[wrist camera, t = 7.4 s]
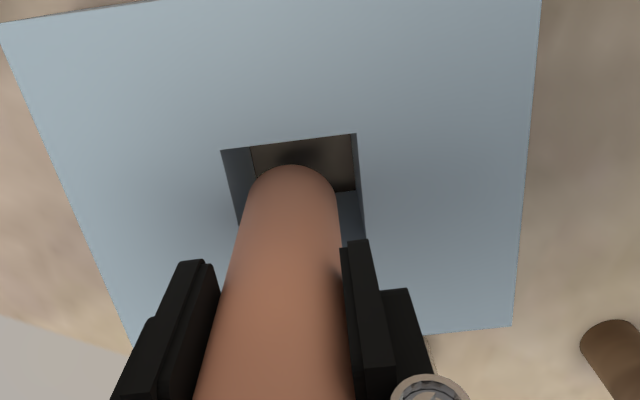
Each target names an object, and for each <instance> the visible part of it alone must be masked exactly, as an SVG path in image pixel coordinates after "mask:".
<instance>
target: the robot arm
mask: <svg viewBox="0 0 640 400" xmlns="http://www.w3.org/2000/svg"><path fill="white" fill-rule="evenodd" d="M339 253H340V263H341V272H342V282H343V291H344V301H345V310H346V320H347V329H348V339H349V348H350V358H351V367H352V375H353V383H354V390H355V398H356V400H470V398H469V396H468V395H467V393H466V392H465V391H464V390H463V389H462V388H461V386H459V385H458V384H456V383H455V382H453V381H452V380H450V379H448V378H445V377H442V376H440V375H434V371H433V368H432V365H431V362H430V358H429V355H428V352H427V349H426V346H425V342H424V339H423V336H422V333H421V329H420V326H419V323H418V320H417V316H416V313H415V310H414V307H413V303H412V300H411V297H410V294H409V291H408V289H407V287H405V288H397V289H388V290H379V285H378V281H377V276H376V271H375V267H374V262H373V258H372V253H371V249H370V244H369V240H368V239H361V240H352V241H347V247H342V248H339ZM220 295H221V291H220V288H219V284H218V281H217V277H216V274H215V271H214V267H213V265H212V264H211V263H208V264H206V263H205V261H204V259H193V260H185V261H180V262H179V263H178V265H177V267H176V269H175V271H174V274H173V276H172V278H171V280H170V283H169V285H168V287H167V289H166V292H165V294H164V296H163V298H162V300H161V303H160V305H159V307H158V309H157V312H156V314H155V316H153V317H150V318H148V320H147V321H146V323H145V324H144V327H143V329H142V331H141V333H140V335H139V337H138V339H137V342H136V344H135V346H134V348H133V350H132V352H131V354H130V357H129V359H128V361H127V363H126V366H125V367H124V370H123V372H122V374H121V376H120V378H119V380H118V382H117V385H116V387H115V389H114V391H113V393H112V395H111V397H110V400H192V398H193V394H194V391H195V387H196V383H197V380H198V376H199V372H200V369H201V365H202V361H203V358H204V354H205V350H206V347H207V343H208V339H209V336H210V332H211V328H212V325H213V321H214V317H215V314H216V310H217V306H218V303H219V299H220Z"/></svg>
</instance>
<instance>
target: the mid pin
mask: <svg viewBox="0 0 640 400" xmlns="http://www.w3.org/2000/svg"><path fill="white" fill-rule="evenodd" d="M580 350H581V352H582V354H583V355H584V357H585V358H586V360H587V361H588V363H589V364H590V365H591V367H592V368H593V370H594V371H595V373H596V374H597V375H598V377H599V378H600V380H601V381H602V383H603V384H604V385H605V387H606V388H607V390H608V391H609V393H610V394H611V395H612V397H613V398H614V400H640V332H639V331H638V330H637V329H636V328H635V327H634V326H633V325H632V324H631V323H629V322H627V321H624V320H609V321H605V322H602V323H600V324H597V325H595V326H594V327H592V328H591V329H590V330H588V331H587V332H586V333H585V335H584V336H583V337H582V339H581V342H580Z"/></svg>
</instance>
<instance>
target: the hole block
mask: <svg viewBox="0 0 640 400" xmlns="http://www.w3.org/2000/svg"><path fill="white" fill-rule="evenodd" d="M541 5H542V0H144V1H137V2H130V3H123V4H116V5H109V6H102V7H95V8H88V9H81V10H74V11H68V12H62V13H56V14H50V15H44V16H39V17H33V18H27V19H21V20H15V21H9V22H4V23H0V45H1V47H2V49H3V51H4V54H5V56H6V58H7V61H8V63H9V65H10V67H11V70H12V72H13V74H14V77H15V79H16V81H17V83H18V86H19V88H20V90H21V93H22V95H23V97H24V99H25V102H26V104H27V106H28V109H29V111H30V113H31V116H32V118H33V120H34V122H35V125H36V127H37V129H38V132H39V134H40V136H41V138H42V141H43V143H44V145H45V148H46V150H47V152H48V154H49V157H50V159H51V161H52V164H53V166H54V168H55V171H56V173H57V175H58V177H59V180H60V182H61V184H62V187H63V189H64V191H65V193H66V196H67V198H68V200H69V203H70V205H71V207H72V209H73V212H74V214H75V216H76V219H77V221H78V223H79V225H80V228H81V230H82V232H83V235H84V237H85V239H86V242H87V244H88V246H89V248H90V251H91V253H92V255H93V258H94V260H95V262H96V264H97V267H98V269H99V271H100V274H101V276H102V278H103V280H104V283H105V285H106V287H107V290H108V292H109V294H110V296H111V299H112V301H113V303H114V306H115V308H116V310H117V313H118V315H119V317H120V319H121V322H122V324H123V326H124V329H125V331H126V333H127V335H128V338H129V340H130V342H131V345H132V347H133V348H134V346H135V344H136V342H137V339H138V337H139V335H140V333H141V331H142V329H143V327H144V324H145V323H146V321H147V320H148V318H150V317H153V316H155V314H156V312H157V309H158V307H159V305H160V303H161V300H162V298H163V296H164V294H165V292H166V289H167V287H168V285H169V283H170V280H171V278H172V276H173V274H174V271H175V269H176V267H177V265H178V263H179V262H180V261H185V260H193V259H204V261H205V263H206V264H208V263H211V264H212V265H213V267H214V271H215V274H216V277H217V281H218V284H219V288H220V291H221V292H222V288H223V285H224V281H225V277H226V274H227V270H228V266H229V263H230V259H231V255H232V252H233V248H234V244H235V241H236V237H237V233H238V230H239V226H240V222H241V219H242V215H243V211H244V208H245V204H246V200H247V197H248V193H249V190H250V188H251V186H252V185H253V183H254V182H255V180H256V176H255V171H254V166H253V162H252V157H251V152H250V148H249V146H256V145H264V144H272V143H280V142H288V141H296V140H303V139H311V138H319V137H327V136H335V135H343V134H351V144H352V154H353V164H354V174H355V184H356V190H354V191H346V192H338V193H335V195H336V200H337V208H338V216H339V225H340V233H341V242H342V247H347V241H352V240H361V239H368V240H369V244H370V249H371V253H372V258H373V262H374V267H375V271H376V276H377V281H378V285H379V290H388V289H397V288H405V287H407V289H408V291H409V294H410V297H411V300H412V303H413V307H414V310H415V313H416V316H417V320H418V323H419V326H420V329H421V333H422V336H423V335H433V334H442V333H452V332H461V331H471V330H481V329H490V328H500V327H509V326H512V317H513V306H514V295H515V285H516V274H517V263H518V252H519V241H520V231H521V220H522V209H523V198H524V188H525V177H526V166H527V155H528V145H529V134H530V123H531V112H532V101H533V91H534V80H535V69H536V58H537V48H538V37H539V26H540V15H541Z"/></svg>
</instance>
